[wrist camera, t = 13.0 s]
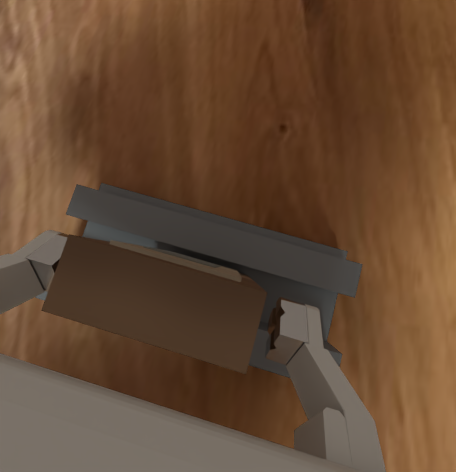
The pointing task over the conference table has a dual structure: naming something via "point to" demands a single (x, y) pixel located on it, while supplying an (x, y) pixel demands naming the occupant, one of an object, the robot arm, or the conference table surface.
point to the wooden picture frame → (159, 299)
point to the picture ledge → (225, 253)
